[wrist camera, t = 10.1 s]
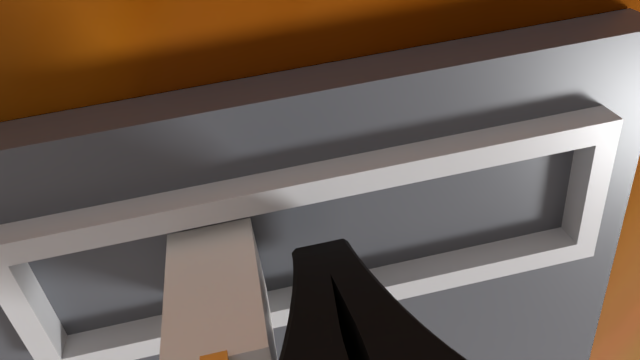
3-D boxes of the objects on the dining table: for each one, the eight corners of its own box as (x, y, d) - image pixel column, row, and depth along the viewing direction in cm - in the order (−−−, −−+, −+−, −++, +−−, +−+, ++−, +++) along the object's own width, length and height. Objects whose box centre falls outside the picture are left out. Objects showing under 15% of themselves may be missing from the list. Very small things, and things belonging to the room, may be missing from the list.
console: (553, 388, 23) (585, 438, 21) (14, 522, 21) (-4, 591, 19) (630, 8, 14) (696, 36, 12) (-290, 175, 12) (-379, 239, 10)
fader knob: (266, 290, 15) (289, 433, 11) (191, 306, 15) (191, 456, 11) (249, 216, 13) (269, 354, 10) (166, 232, 13) (157, 379, 10)
